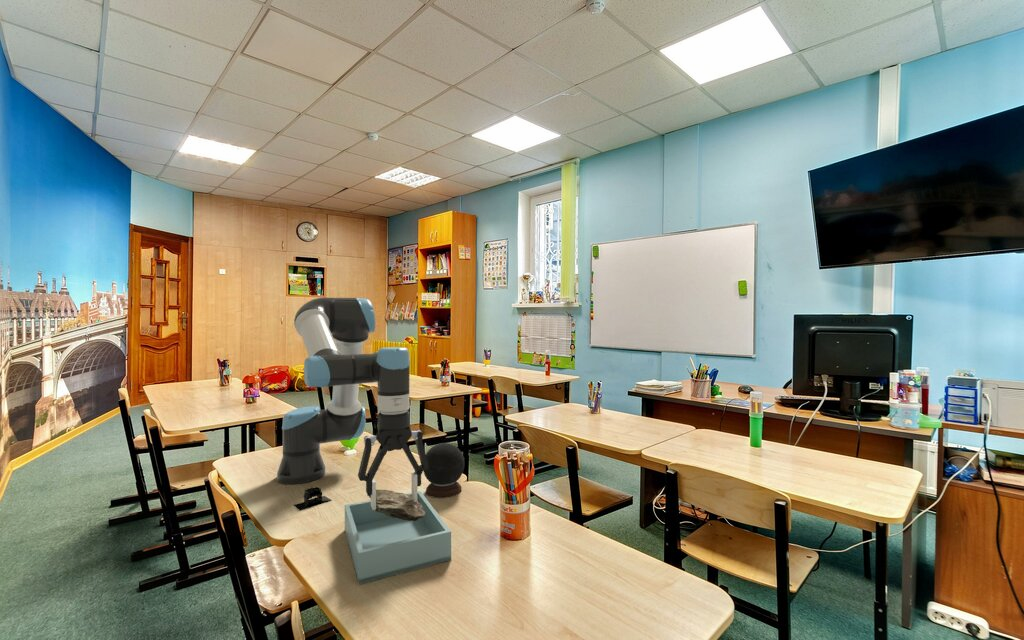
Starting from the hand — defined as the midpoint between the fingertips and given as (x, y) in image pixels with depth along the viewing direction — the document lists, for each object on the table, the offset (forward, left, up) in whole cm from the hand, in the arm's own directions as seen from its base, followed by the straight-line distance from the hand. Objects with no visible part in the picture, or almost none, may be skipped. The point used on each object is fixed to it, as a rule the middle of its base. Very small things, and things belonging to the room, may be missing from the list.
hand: (394, 503), depth 106 cm
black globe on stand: (-26, +21, -10) cm, 35 cm away
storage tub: (0, 0, -10) cm, 10 cm away
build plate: (-35, -17, -11) cm, 41 cm away
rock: (-1, +1, -2) cm, 2 cm away
